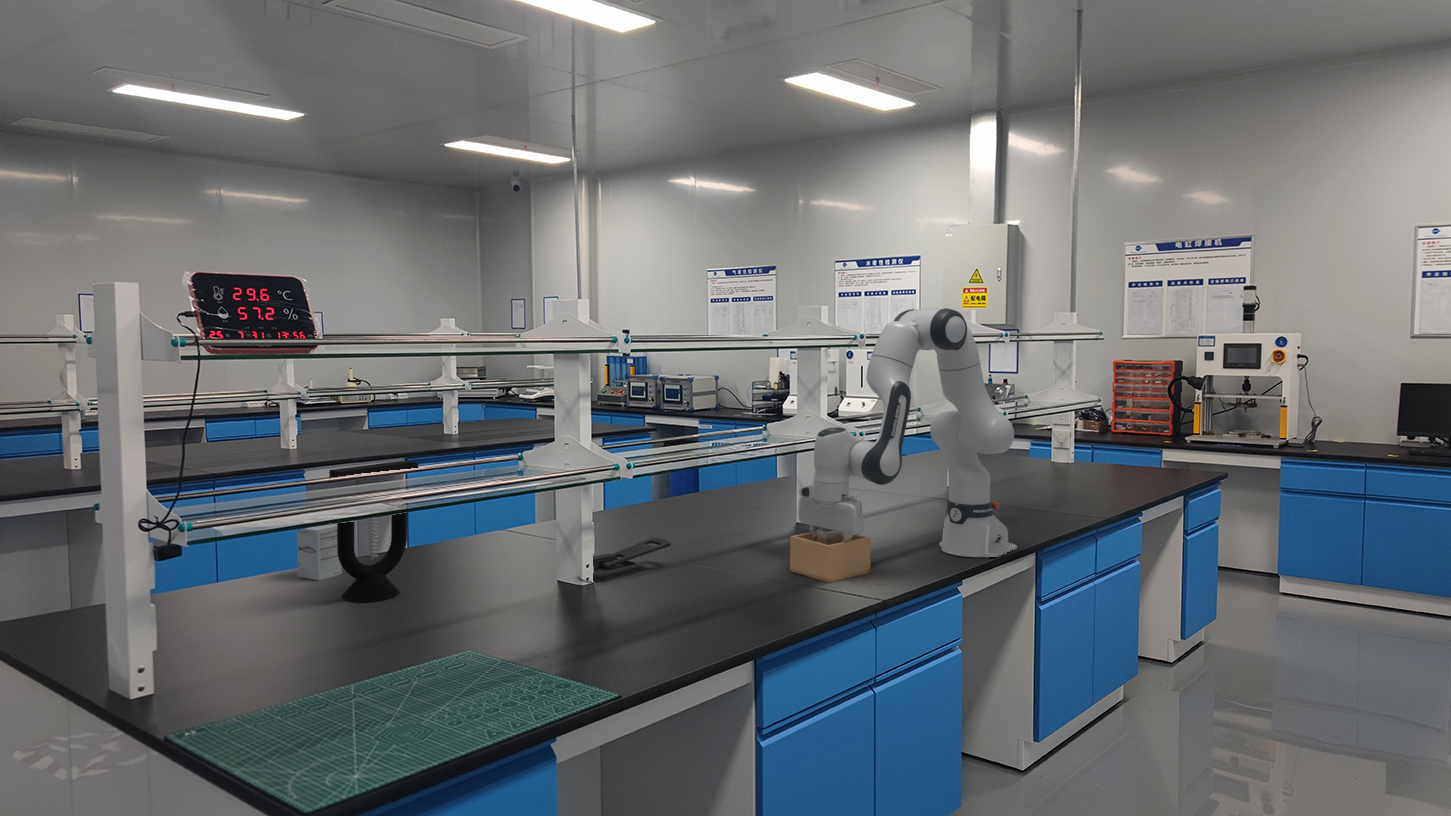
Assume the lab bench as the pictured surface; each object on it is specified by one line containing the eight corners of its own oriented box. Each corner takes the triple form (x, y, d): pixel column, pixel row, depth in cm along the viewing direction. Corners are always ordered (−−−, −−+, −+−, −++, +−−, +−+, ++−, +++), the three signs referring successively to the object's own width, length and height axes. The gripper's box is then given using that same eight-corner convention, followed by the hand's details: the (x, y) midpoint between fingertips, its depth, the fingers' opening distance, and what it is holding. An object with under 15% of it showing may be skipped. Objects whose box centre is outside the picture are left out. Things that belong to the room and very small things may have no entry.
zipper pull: (674, 541, 232) (593, 557, 215) (674, 567, 232) (594, 584, 215) (653, 536, 238) (573, 551, 221) (653, 560, 239) (573, 577, 222)
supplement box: (296, 577, 220) (295, 526, 219) (322, 570, 227) (320, 521, 226) (318, 581, 217) (316, 529, 216) (343, 574, 224) (341, 524, 223)
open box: (831, 562, 238) (832, 528, 237) (870, 572, 227) (870, 537, 226) (789, 571, 228) (790, 536, 228) (827, 582, 218) (828, 546, 217)
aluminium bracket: (824, 571, 224) (825, 532, 224) (808, 566, 229) (808, 527, 228) (847, 566, 229) (847, 527, 229) (830, 561, 234) (831, 523, 233)
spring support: (352, 609, 195) (348, 472, 192) (318, 600, 201) (314, 467, 199) (430, 587, 212) (427, 461, 210) (396, 579, 219) (393, 457, 216)
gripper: (870, 496, 220) (869, 552, 221) (812, 485, 236) (811, 537, 237) (852, 499, 216) (851, 556, 217) (794, 488, 232) (793, 540, 233)
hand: (830, 546), depth 227 cm, fingers open, 8 cm apart
